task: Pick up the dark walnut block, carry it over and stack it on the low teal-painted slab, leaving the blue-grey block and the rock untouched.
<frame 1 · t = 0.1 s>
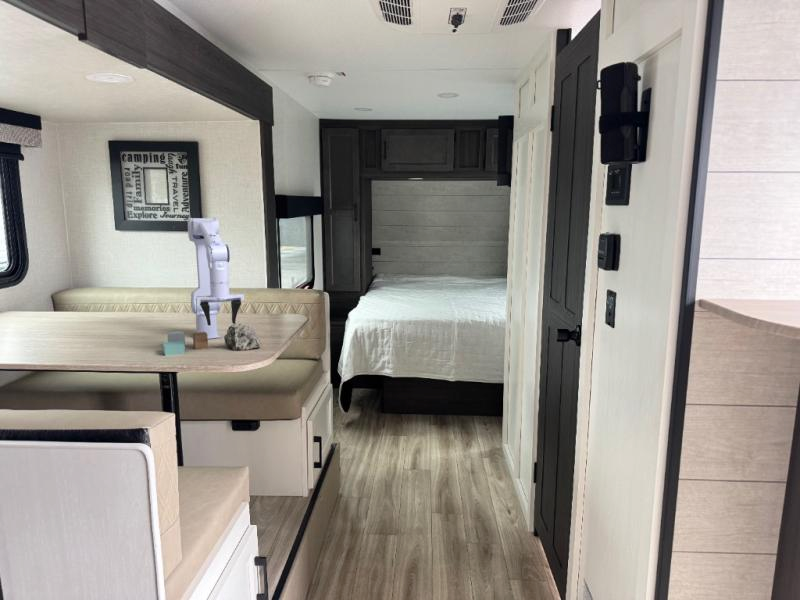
hand: (221, 323, 172), 10 cm above the table, tool pointing down, fingers open, 7 cm apart
bluegrey block: (176, 346, 183), on the table
rock: (244, 348, 182), on the table
walnut block: (200, 347, 182), on the table
teal slab: (173, 353, 175), on the table
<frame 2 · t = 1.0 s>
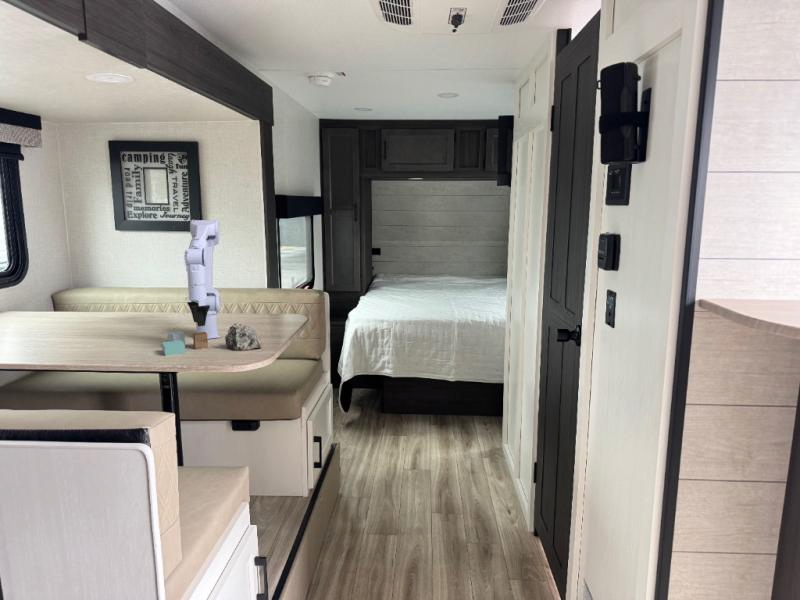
hand: (199, 323, 180), 8 cm above the table, tool pointing down, fingers open, 7 cm apart
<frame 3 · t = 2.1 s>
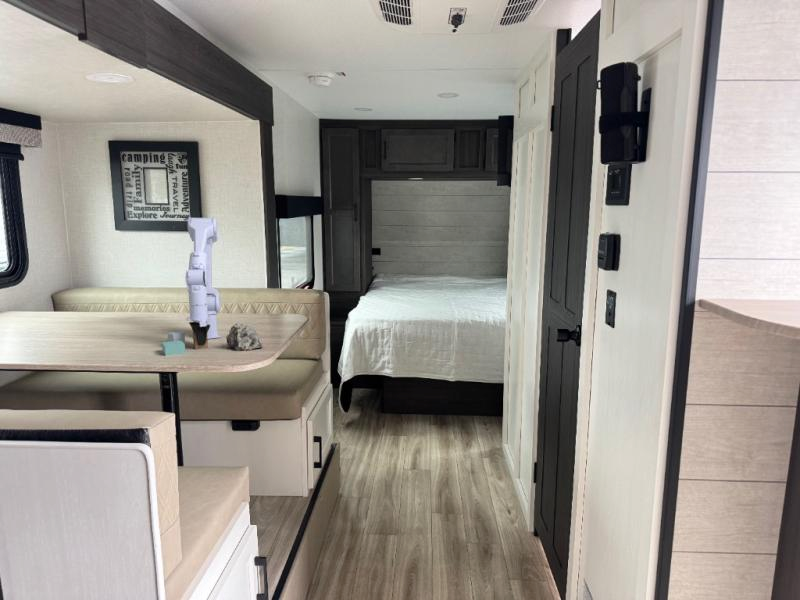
hand: (200, 343, 181), 1 cm above the table, tool pointing down, fingers closed on walnut block, 4 cm apart
walnut block: (200, 347, 182), on the table, touching gripper
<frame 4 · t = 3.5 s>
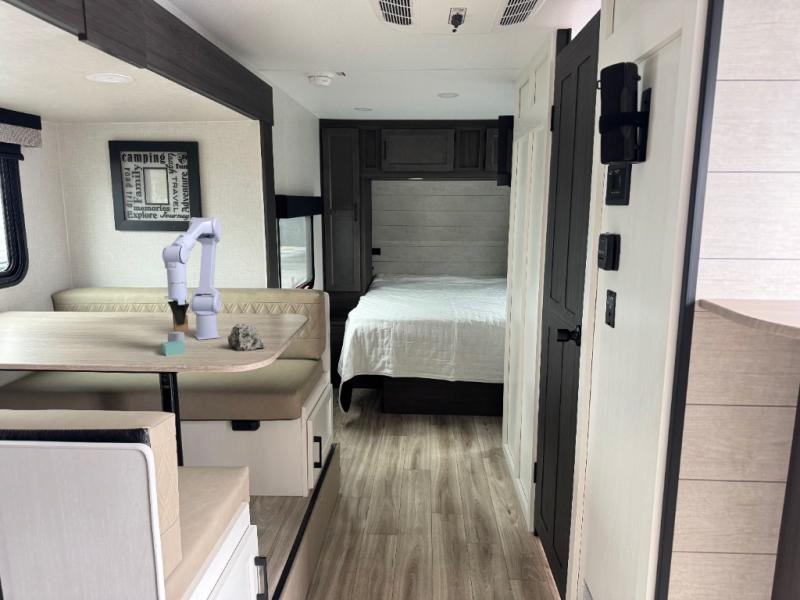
hand: (179, 323, 175), 10 cm above the table, tool pointing down, fingers closed on walnut block, 4 cm apart
walnut block: (181, 330, 175), point 7 cm above the table, touching gripper
when the fingers open (6 cm above the table, at t = 4.6 s): walnut block stays where it is, resting on teal slab.
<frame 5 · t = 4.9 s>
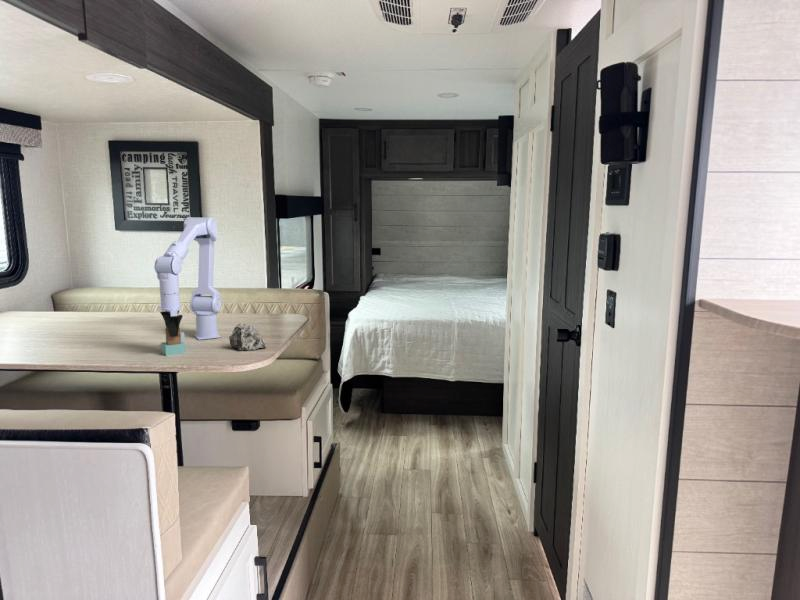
hand: (172, 334, 174), 6 cm above the table, tool pointing down, fingers open, 6 cm apart
walnut block: (173, 343, 174), point 3 cm above the table, touching teal slab
teal slab: (173, 353, 175), on the table, touching walnut block
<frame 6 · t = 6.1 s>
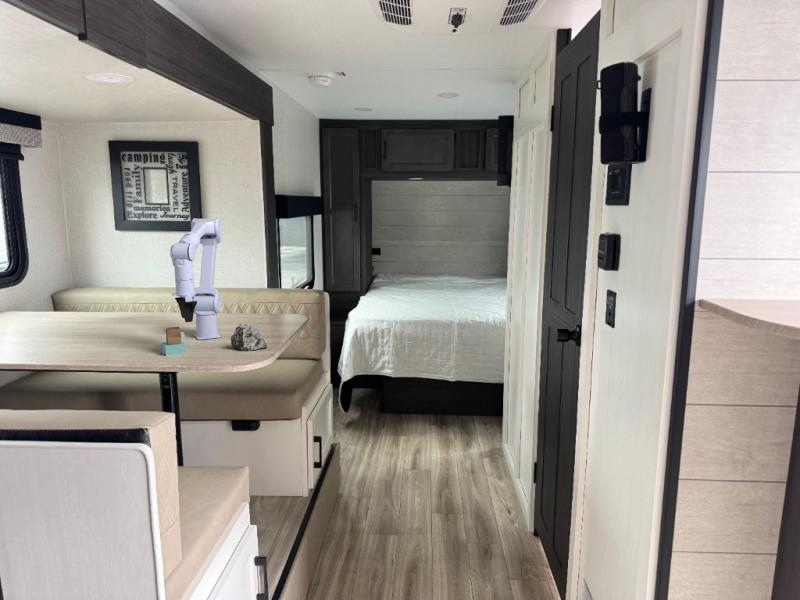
hand: (187, 319, 177), 10 cm above the table, tool pointing down, fingers open, 7 cm apart
walnut block: (173, 343, 174), point 3 cm above the table
teal slab: (173, 353, 175), on the table
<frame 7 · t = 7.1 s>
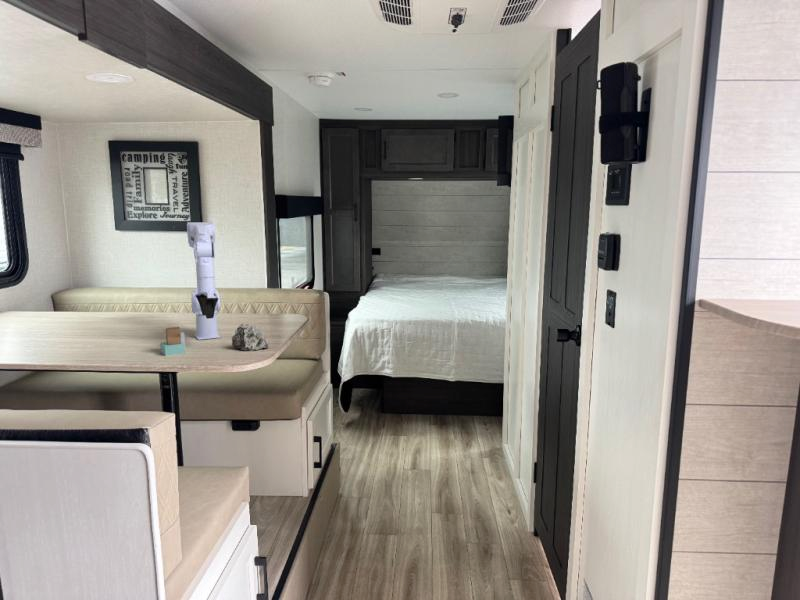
hand: (207, 316, 182), 10 cm above the table, tool pointing down, fingers open, 7 cm apart
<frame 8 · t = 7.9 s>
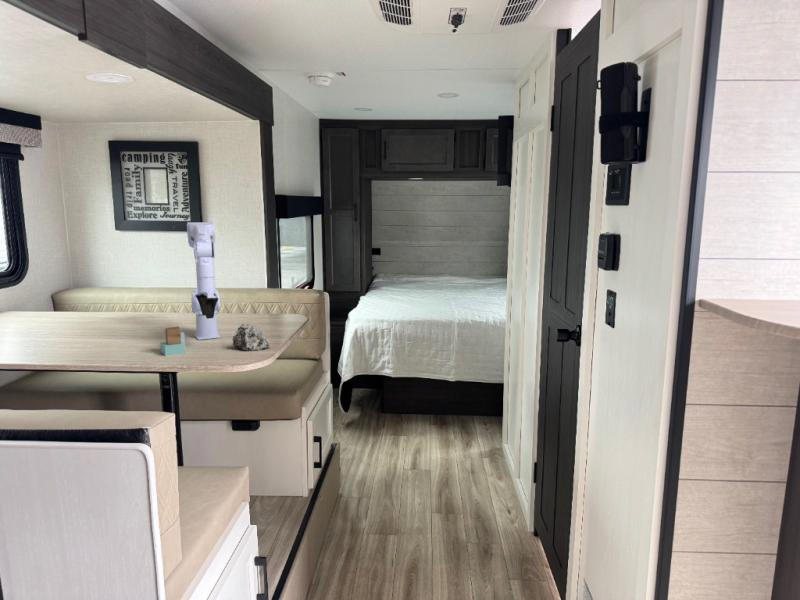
hand: (207, 316, 182), 10 cm above the table, tool pointing down, fingers open, 7 cm apart
walnut block: (173, 343, 174), point 3 cm above the table, touching teal slab
teal slab: (172, 353, 175), on the table, touching walnut block
at the end: walnut block 0.4 cm off-centre on the teal slab, point 3.5 cm above the teal slab's base; walnut block tilted 1°; the gripper is holding nothing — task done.
